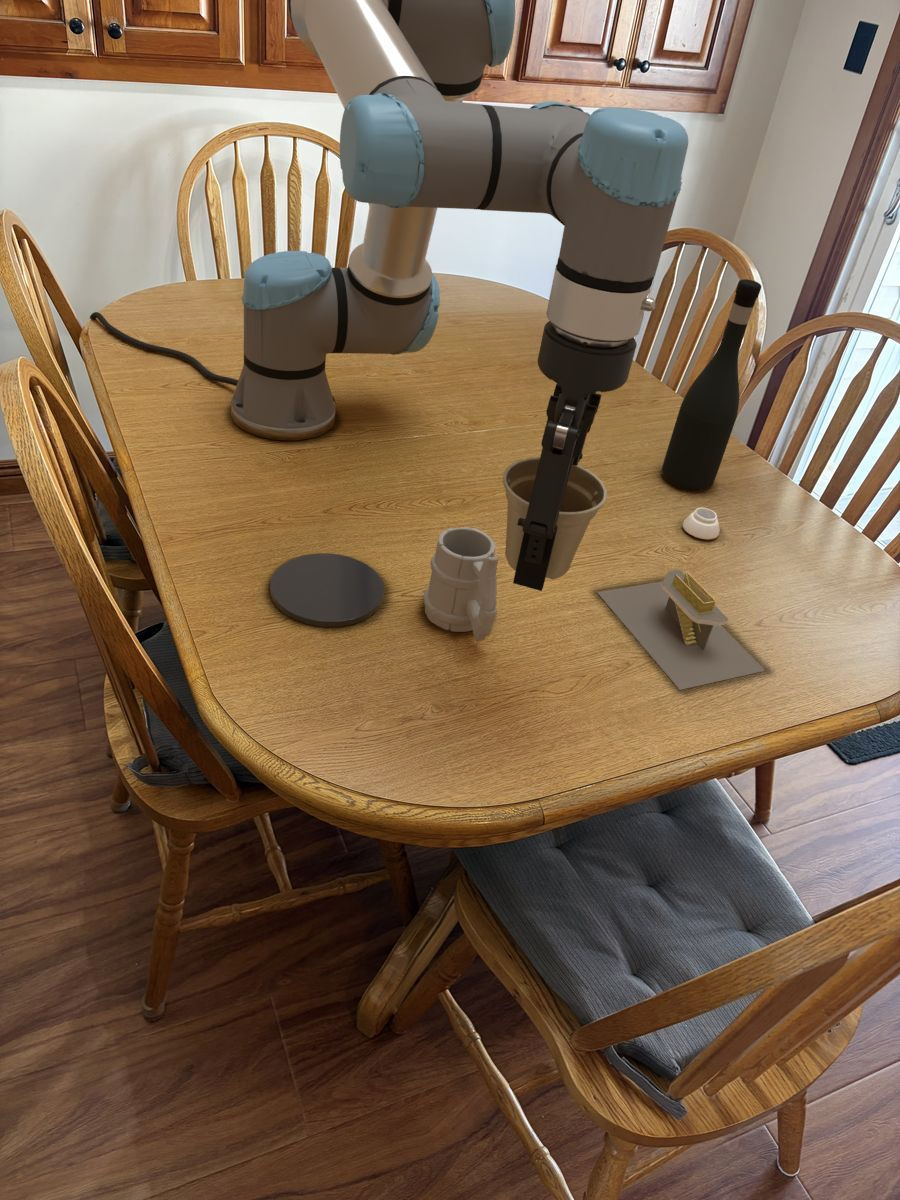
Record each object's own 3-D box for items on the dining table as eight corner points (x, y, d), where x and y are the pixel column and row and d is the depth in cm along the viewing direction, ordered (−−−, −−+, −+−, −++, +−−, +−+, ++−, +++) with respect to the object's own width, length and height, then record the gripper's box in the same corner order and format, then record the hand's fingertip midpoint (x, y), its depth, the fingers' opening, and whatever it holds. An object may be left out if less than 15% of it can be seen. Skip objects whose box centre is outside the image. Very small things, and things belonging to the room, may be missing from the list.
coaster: (250, 607, 104) (250, 602, 104) (297, 547, 114) (297, 542, 114) (360, 639, 102) (361, 634, 102) (398, 576, 112) (399, 570, 112)
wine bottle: (656, 463, 144) (715, 268, 126) (707, 470, 145) (772, 276, 127) (664, 490, 138) (727, 288, 120) (717, 497, 138) (787, 297, 120)
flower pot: (581, 602, 85) (603, 522, 79) (479, 578, 85) (495, 498, 80) (590, 546, 92) (611, 470, 87) (496, 525, 93) (511, 448, 88)
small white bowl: (679, 534, 128) (715, 545, 127) (685, 516, 127) (722, 527, 126) (684, 517, 132) (719, 528, 131) (690, 500, 130) (726, 510, 129)
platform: (679, 689, 102) (697, 644, 99) (596, 592, 115) (609, 548, 111) (765, 670, 107) (785, 626, 103) (676, 578, 120) (691, 536, 116)
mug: (471, 588, 112) (486, 503, 105) (514, 651, 104) (534, 563, 97) (412, 597, 109) (423, 510, 102) (451, 663, 101) (467, 573, 94)
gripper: (620, 391, 66) (555, 635, 80) (652, 298, 83) (593, 514, 96) (517, 366, 67) (471, 611, 81) (569, 279, 84) (523, 496, 97)
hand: (538, 558), depth 89 cm, fingers closed on flower pot, 8 cm apart
